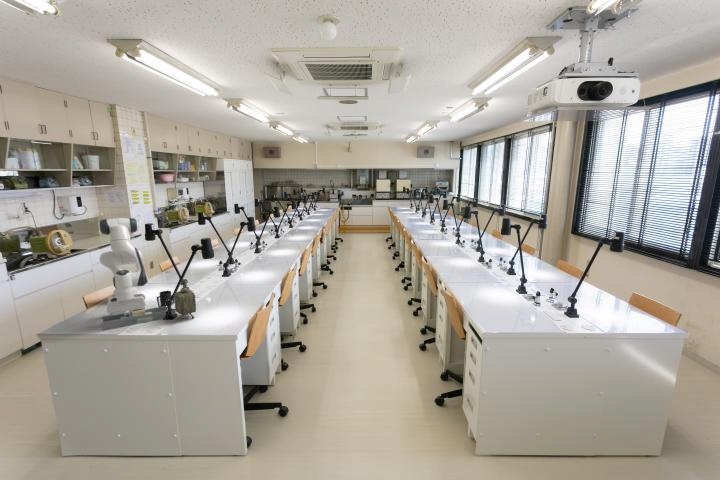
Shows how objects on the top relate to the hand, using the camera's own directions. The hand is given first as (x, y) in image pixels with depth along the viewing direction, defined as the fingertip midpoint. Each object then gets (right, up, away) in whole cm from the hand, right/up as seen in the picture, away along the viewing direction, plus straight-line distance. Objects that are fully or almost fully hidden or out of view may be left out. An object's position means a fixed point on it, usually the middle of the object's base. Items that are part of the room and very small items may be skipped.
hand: (127, 316), depth 211 cm
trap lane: (+4, -4, +3) cm, 6 cm away
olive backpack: (+32, -3, +10) cm, 34 cm away
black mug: (+9, 0, +24) cm, 26 cm away
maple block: (+5, -1, +4) cm, 6 cm away
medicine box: (-15, -2, +13) cm, 20 cm away
